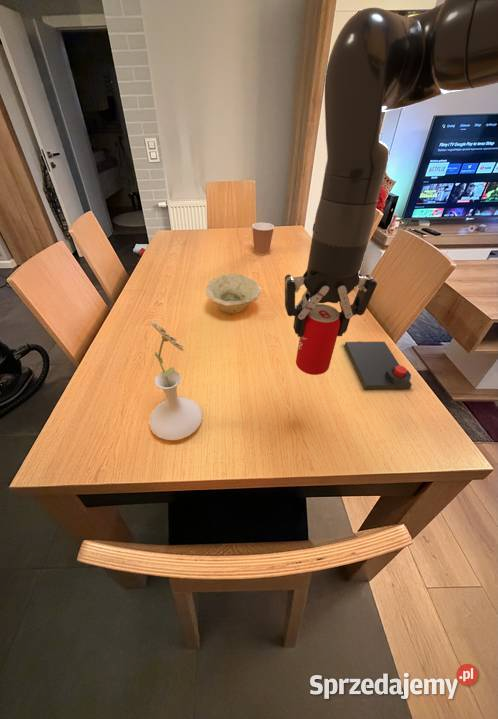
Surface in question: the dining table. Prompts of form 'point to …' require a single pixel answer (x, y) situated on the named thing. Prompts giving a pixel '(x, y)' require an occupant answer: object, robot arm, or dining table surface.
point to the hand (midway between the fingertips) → (318, 333)
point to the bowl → (233, 292)
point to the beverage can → (318, 340)
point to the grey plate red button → (376, 366)
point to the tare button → (399, 371)
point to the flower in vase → (172, 401)
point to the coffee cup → (262, 237)
